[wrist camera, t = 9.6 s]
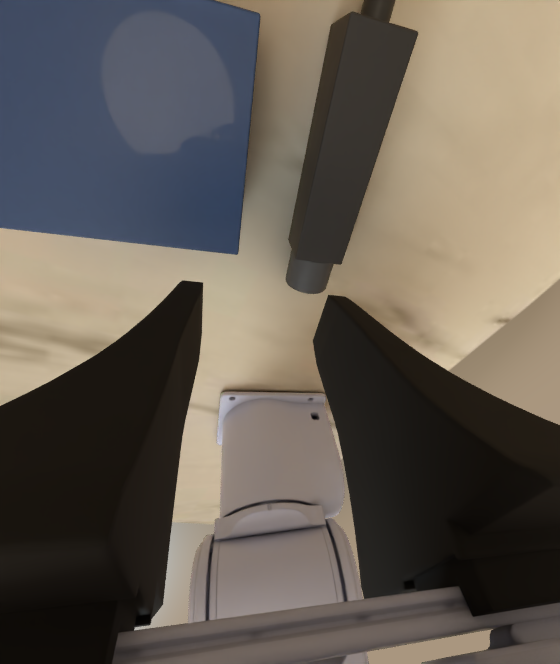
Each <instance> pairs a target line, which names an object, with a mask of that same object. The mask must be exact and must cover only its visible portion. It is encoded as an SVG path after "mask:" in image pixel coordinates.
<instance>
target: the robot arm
mask: <svg viewBox="0 0 560 664" xmlns="http://www.w3.org/2000/svg"><path fill="white" fill-rule="evenodd" d="M202 303H203V283H202V282H192V281H181V282H180V283H179V284H178V285H177V286H176V287H175V288H174V289H173V291H172V292H171V293H170V294H169V295H168V296H167V297H166V298H165V299H164V300H163V301H162V302H161V303H160V304H159V305H158V306H157V307H156V308H155V309H154V310H153V311H152V312H151V313H150V314H149V315H147V316H146V317H145V318H144V319H143V320H142V321H140V322H139V323H138V324H137V325H136V326H134V327H133V328H132V329H131V330H130V331H128V332H127V333H126V334H125V335H123V336H122V337H121V338H120V339H118V340H117V341H116V342H114V343H113V344H111V345H110V346H109V347H107V348H106V349H104V350H103V351H101V352H100V353H98V354H97V355H95V356H93V357H92V358H90V359H89V360H87V361H85V362H83V363H82V364H80V365H78V366H76V367H75V368H73V369H71V370H69V371H68V372H66V373H64V374H62V375H61V376H59V377H57V378H55V379H54V380H52V381H50V382H48V383H46V384H44V385H42V386H40V387H38V388H36V389H34V390H32V391H30V392H28V393H26V394H25V395H22V396H20V397H18V398H16V399H14V400H12V401H10V402H8V403H6V404H3V405H1V406H0V664H369V662H368V656H367V652H368V651H373V650H379V649H385V648H390V647H396V646H401V645H407V644H412V643H418V642H423V641H428V640H435V639H440V638H445V637H451V636H457V635H463V634H468V633H474V632H479V631H485V630H490V629H493V630H491V633H490V647H489V648H488V649H487V650H484V651H479V652H473V653H468V654H462V655H457V656H451V657H446V658H441V659H436V660H432V661H427V662H422V663H421V664H560V425H558V424H555V423H553V422H550V421H548V420H545V419H543V418H541V417H538V416H536V415H534V414H532V413H529V412H527V411H525V410H523V409H521V408H518V407H516V406H514V405H512V404H510V403H508V402H506V401H503V400H501V399H499V398H497V397H495V396H493V395H491V394H489V393H487V392H485V391H483V390H481V389H480V388H478V387H476V386H474V385H472V384H470V383H468V382H466V381H464V380H463V379H461V378H459V377H458V376H456V375H454V374H452V373H450V372H449V371H447V370H446V369H444V368H442V367H441V366H439V365H438V364H436V363H434V362H433V361H431V360H429V359H428V358H426V357H425V356H423V355H422V354H420V353H419V352H418V351H416V350H415V349H413V348H412V347H411V346H409V345H408V344H406V343H405V342H404V341H402V340H401V339H400V338H398V337H397V336H396V335H394V334H393V333H392V332H390V331H389V330H388V329H387V328H385V327H384V326H383V325H382V324H380V323H379V322H378V321H377V320H375V319H374V318H373V317H372V316H370V315H369V314H368V313H367V312H365V311H364V310H363V309H362V308H360V307H359V306H358V305H356V304H355V303H354V302H352V301H351V300H350V299H348V298H346V297H344V296H334V295H328V297H327V300H326V303H325V306H324V309H323V312H322V315H321V318H320V321H319V324H318V327H317V330H316V333H315V336H314V339H313V344H314V351H315V357H316V363H317V367H318V371H319V374H320V377H321V380H322V383H323V387H324V390H325V393H326V395H325V394H323V393H282V392H223V393H221V395H220V407H219V419H218V432H217V444H218V445H222V462H221V493H220V518H217V519H215V530H214V531H215V532H214V534H211V535H206V536H205V538H204V539H203V542H202V543H201V544H200V545H199V547H198V548H197V550H196V553H195V557H194V562H193V567H192V573H191V582H190V594H189V613H188V623H187V624H179V625H171V626H164V627H157V628H150V629H142V630H135V631H134V628H135V627H139V626H147V625H150V623H151V619H152V618H153V616H154V615H155V614H156V613H157V612H158V610H159V609H160V608H161V606H162V605H163V598H164V589H165V580H166V570H167V561H168V552H169V542H170V533H171V526H172V517H173V508H174V500H175V491H176V483H177V475H178V467H179V459H180V451H181V443H182V435H183V430H184V424H185V419H186V415H187V410H188V406H189V402H190V397H191V393H192V388H193V384H194V380H195V375H196V371H197V366H198V362H199V355H200V345H201V336H202ZM326 396H327V399H328V402H329V405H330V408H331V411H332V415H333V418H334V421H335V424H336V428H337V432H338V436H339V441H340V446H341V451H342V455H343V460H344V466H345V471H346V477H347V482H348V488H349V493H350V501H351V506H352V514H353V520H354V527H355V535H356V543H357V552H358V560H359V569H360V579H361V585H360V580H359V575H358V571H357V566H356V562H355V559H354V555H353V552H352V549H351V546H350V543H349V540H348V538H347V536H346V534H345V532H344V530H343V529H342V528H341V527H340V526H339V525H338V524H337V523H336V522H335V520H334V519H332V518H329V517H334V516H336V515H338V514H339V513H340V511H341V509H342V505H343V501H344V477H343V469H342V464H341V460H340V456H339V453H338V449H337V446H336V442H335V439H334V435H333V432H332V429H331V425H330V422H329V418H328V415H327V411H326V408H325V404H324V403H325V401H326ZM325 518H328V519H325ZM361 588H362V591H363V595H364V599H363V597H362V591H361Z"/></svg>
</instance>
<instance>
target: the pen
mask: <svg viewBox="0 0 560 664" xmlns="http://www.w3.org/2000/svg"><path fill="white" fill-rule="evenodd" d="M394 4H395V0H364V2H363V6H362V10H361V14H359V13H356V12H353V11H352V12H350V13H348V14H347V15H345V16H344V17H342V18H341V19H339V20H338V21H336V22H335V23H333V24H332V25H331V29H330V34H329V39H328V44H327V49H326V54H325V59H324V64H323V69H322V74H321V79H320V84H319V89H318V94H317V99H316V104H315V109H314V114H313V119H312V124H311V129H310V134H309V139H308V144H307V149H306V154H305V159H304V164H303V169H302V174H301V179H300V184H299V189H298V194H297V199H296V204H295V209H294V214H293V219H292V224H291V229H290V234H289V239H288V240H289V243H290V246H291V248H292V250H291V255H290V260H289V264H288V269H287V274H286V282H287V284H288V285H289V286H290V287H291V288H293V289H295V290H297V291H300V292H303V293H308V294H318V293H321V292H323V291H324V290H325V289H326V286H327V283H328V280H329V276H330V273H331V270H332V267H333V264H340V265H341V264H342V261H343V258H344V255H345V252H346V249H347V246H348V243H349V240H350V237H351V234H352V231H353V228H354V225H355V222H356V219H357V216H358V213H359V210H360V207H361V204H362V201H363V198H364V195H365V192H366V189H367V186H368V183H369V180H370V177H371V174H372V171H373V168H374V165H375V162H376V159H377V156H378V153H379V150H380V147H381V144H382V141H383V138H384V135H385V132H386V129H387V126H388V123H389V120H390V117H391V114H392V111H393V108H394V105H395V102H396V99H397V96H398V93H399V90H400V87H401V84H402V81H403V78H404V75H405V72H406V69H407V66H408V63H409V60H410V57H411V54H412V51H413V48H414V45H415V42H416V39H417V36H418V32H417V31H415V30H412V29H408V28H405V27H402V26H399V25H395V24H392V23H389V21H390V18H391V14H392V11H393V7H394Z"/></svg>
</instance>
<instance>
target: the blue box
mask: <svg viewBox="0 0 560 664" xmlns="http://www.w3.org/2000/svg"><path fill="white" fill-rule="evenodd" d="M259 27H260V14H259V13H257V12H254V11H250V10H247V9H243V8H240V7H236V6H233V5H229V4H226V3H222V2H219V1H215V0H0V228H6V229H15V230H23V231H32V232H41V233H50V234H59V235H67V236H76V237H85V238H94V239H103V240H112V241H120V242H129V243H138V244H147V245H156V246H165V247H173V248H182V249H191V250H200V251H209V252H218V253H226V254H235V255H237V254H238V250H239V239H240V229H241V218H242V208H243V197H244V186H245V176H246V165H247V155H248V144H249V133H250V123H251V112H252V102H253V91H254V80H255V70H256V59H257V49H258V38H259Z"/></svg>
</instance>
